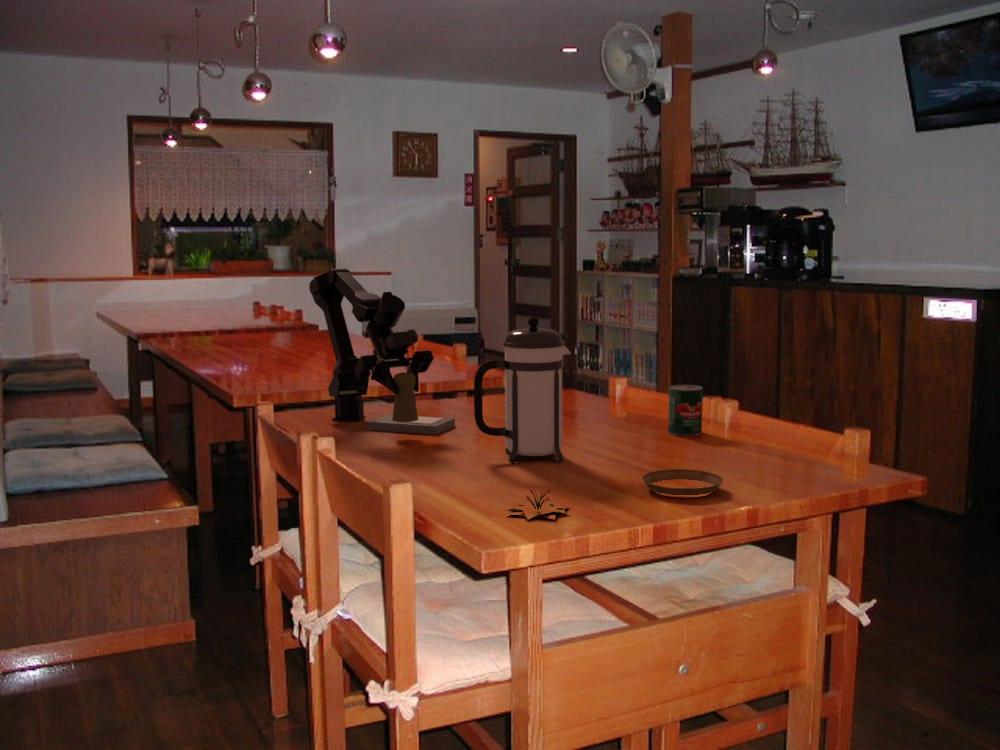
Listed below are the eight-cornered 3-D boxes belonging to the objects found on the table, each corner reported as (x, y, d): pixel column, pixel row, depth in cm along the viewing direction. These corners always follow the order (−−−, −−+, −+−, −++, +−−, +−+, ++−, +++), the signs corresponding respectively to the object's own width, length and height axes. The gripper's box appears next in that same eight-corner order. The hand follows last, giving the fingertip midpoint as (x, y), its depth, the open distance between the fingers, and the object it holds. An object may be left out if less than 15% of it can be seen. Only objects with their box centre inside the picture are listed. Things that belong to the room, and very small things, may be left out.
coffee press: (529, 446, 225) (528, 312, 221) (583, 457, 214) (583, 316, 210) (472, 458, 213) (470, 317, 209) (526, 471, 202) (526, 321, 198)
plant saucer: (669, 506, 176) (670, 491, 176) (626, 487, 190) (627, 473, 189) (739, 496, 182) (739, 482, 182) (692, 478, 196) (693, 465, 195)
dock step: (369, 429, 246) (368, 421, 245) (390, 421, 256) (390, 413, 255) (436, 434, 239) (436, 425, 239) (455, 426, 249) (454, 417, 249)
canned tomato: (687, 437, 233) (688, 390, 231) (661, 432, 239) (661, 387, 237) (708, 433, 238) (709, 387, 236) (682, 428, 244) (682, 383, 242)
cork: (416, 422, 232) (416, 374, 230) (390, 422, 232) (389, 374, 230) (419, 417, 238) (418, 371, 236) (393, 417, 238) (392, 371, 236)
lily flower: (493, 521, 169) (492, 495, 168) (517, 503, 180) (517, 478, 179) (561, 528, 165) (561, 501, 164) (582, 509, 176) (582, 483, 175)
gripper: (358, 320, 229) (382, 374, 222) (429, 316, 240) (454, 367, 232) (344, 351, 237) (367, 404, 230) (413, 345, 247) (437, 396, 240)
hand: (407, 392), depth 233 cm, fingers closed on cork, 5 cm apart
